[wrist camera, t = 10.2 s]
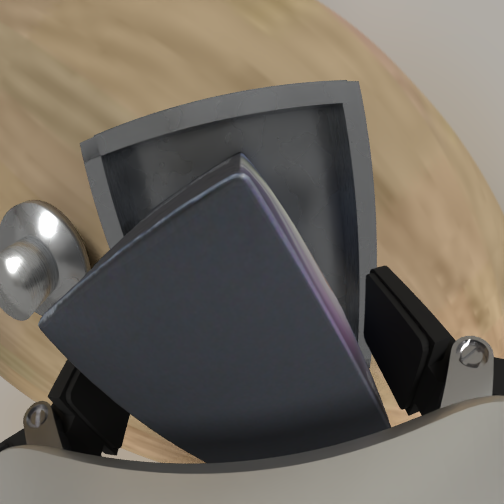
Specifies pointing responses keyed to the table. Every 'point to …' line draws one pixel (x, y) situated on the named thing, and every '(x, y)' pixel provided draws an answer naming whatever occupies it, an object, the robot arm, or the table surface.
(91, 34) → the table surface
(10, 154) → the table surface
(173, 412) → the small box
